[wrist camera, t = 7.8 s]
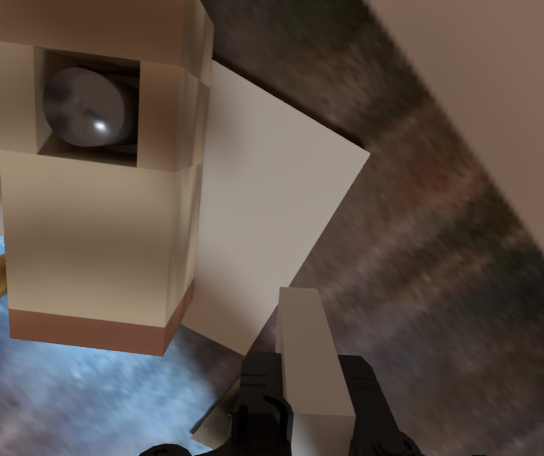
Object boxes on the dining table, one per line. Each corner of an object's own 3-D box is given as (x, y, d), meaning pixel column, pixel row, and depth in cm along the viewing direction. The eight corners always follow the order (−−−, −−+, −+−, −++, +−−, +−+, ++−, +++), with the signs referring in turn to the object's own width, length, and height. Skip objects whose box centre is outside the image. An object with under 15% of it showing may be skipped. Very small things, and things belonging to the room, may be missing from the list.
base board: (-71, 191, 22) (-84, 193, 21) (9, -60, 18) (-2, -68, 18) (246, 349, 24) (245, 356, 23) (367, 153, 21) (370, 153, 20)
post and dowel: (45, 249, 23) (-65, 302, 15) (119, 72, 20) (29, 36, 13) (102, 277, 23) (21, 342, 16) (181, 108, 20) (129, 92, 13)
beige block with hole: (79, 7, 18) (-14, -54, 12) (214, 26, 18) (186, -25, 13) (80, 285, 22) (10, 338, 16) (192, 299, 22) (162, 356, 16)
